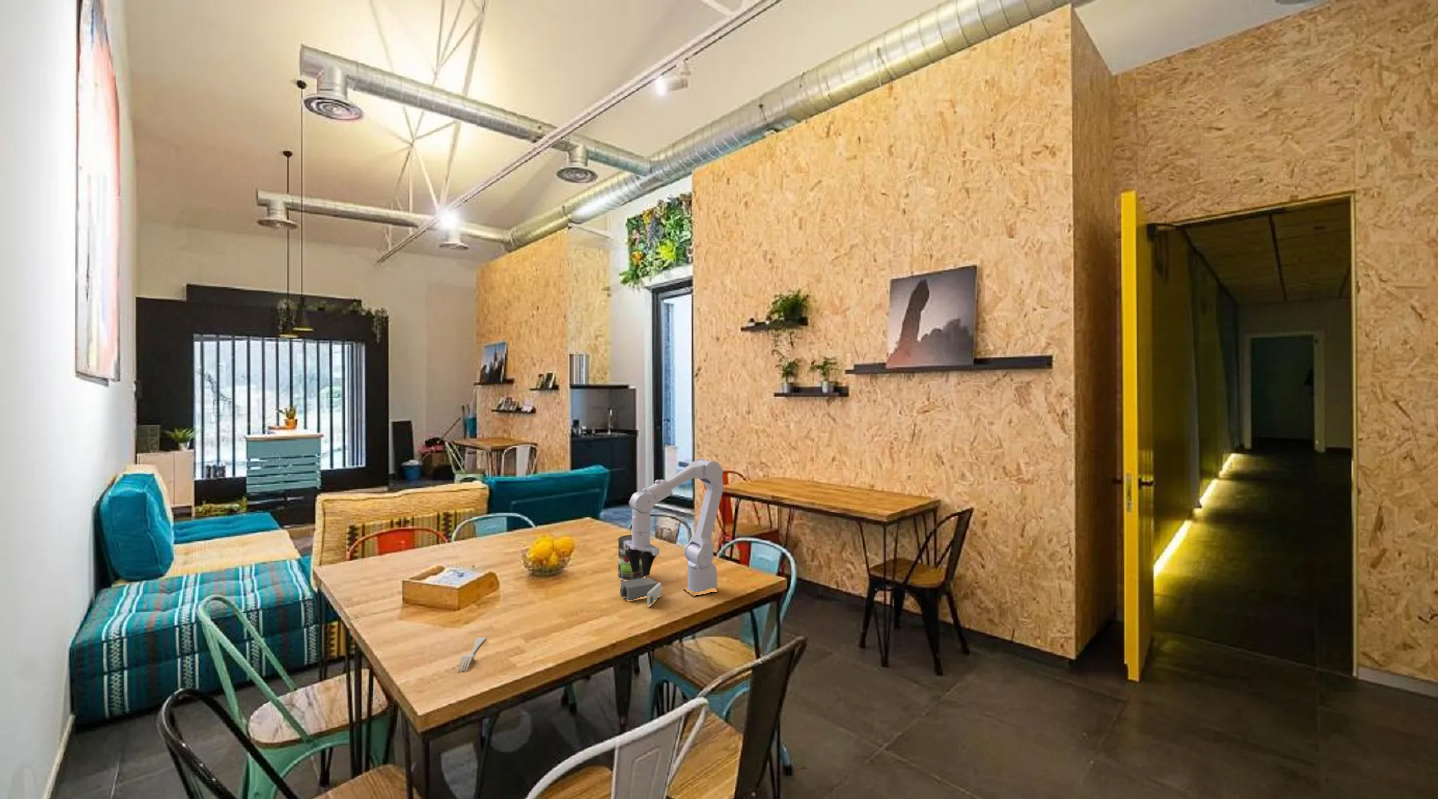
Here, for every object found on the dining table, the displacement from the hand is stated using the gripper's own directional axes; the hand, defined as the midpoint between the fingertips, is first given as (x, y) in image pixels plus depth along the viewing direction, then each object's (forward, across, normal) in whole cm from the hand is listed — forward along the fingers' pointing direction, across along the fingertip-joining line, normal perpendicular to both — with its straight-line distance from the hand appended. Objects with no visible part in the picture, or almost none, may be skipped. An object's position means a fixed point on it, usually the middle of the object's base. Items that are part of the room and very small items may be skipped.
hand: (640, 573), depth 187 cm
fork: (+10, -6, -52) cm, 53 cm away
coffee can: (+10, -21, +15) cm, 27 cm away
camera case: (+9, -5, +4) cm, 11 cm away
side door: (+9, +3, +4) cm, 10 cm away
